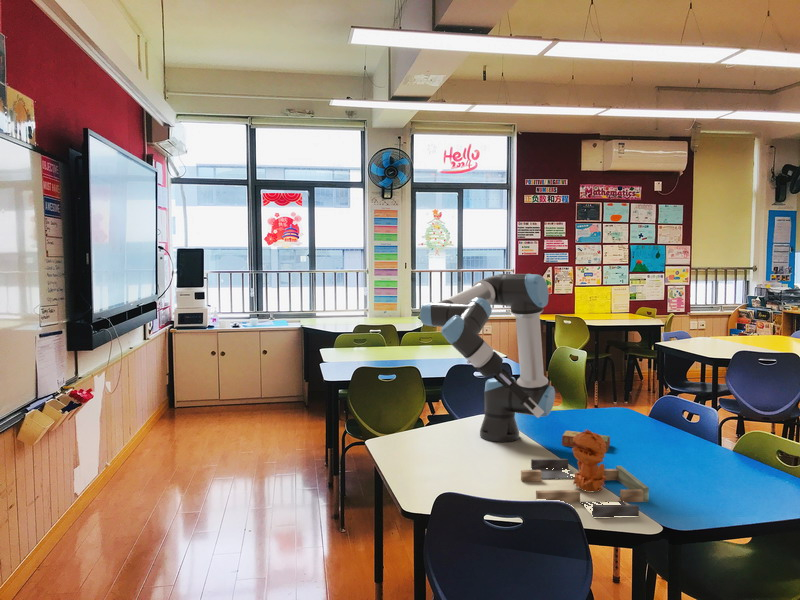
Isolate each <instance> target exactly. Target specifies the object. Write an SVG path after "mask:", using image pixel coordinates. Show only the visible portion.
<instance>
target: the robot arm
mask: <svg viewBox="0 0 800 600" xmlns="http://www.w3.org/2000/svg"><path fill="white" fill-rule="evenodd" d="M549 295H550V292H549V287H548V283H547V280H546V279H545V278H544V277H543V276H542V275H540V274H535V273H533V274H531V273H500V274H495V275H492V276H488V277H486V278H482V279H481V280H478V281H476V282H475V283H473V285H472V287H470V288H468V289H465V290H462V291H460V292H458V293H455V294H454V295H451V296H450V297H446V298H445V299H443V300H440V301H438V302H433V301H431V302H425V303H423V304H422V306H421V307H420V311H419V319H420V322H421V323H422V324H423V325H424V326H427V327H428V326H429V327H432V328H433V327H437V328H438V327H440V328H441V329H440V334H441V335H442V336H443V337H444V338H445V340H446V341H447V343H449V344H450V345H451V346H452V347H453V348H454V349H455V350H456V351H458V352H459V354H461V355H462V356H463V357H464V358H465V359H466V360H467V362H466V363H467V364H469V365H470V364H471V365H472V366H473V367H474V368H476V370H477V371H478V372H479V373H480V374H481V375H482V376H483V377H484V378H488V377H490V376H492V375H494V376H493V377H492V378H489V379H487V380H485V383H484V384H485V386H484V417H483V420H482V424H481V425H480V429H479V436H481V437H480V438H482V439H483V440H486V441H490V442H496V441H497V442H498V443H499V442H500V443H508V442H507V441H510V442H515V441H517V440H519V439H520V431H519V426H518V424H517V420H516V414H521V415H528V416H533V417H536V418H537V419H539V418H540V417H543V418H544V417H547V416H549V414H550V413H552V410H553V407H554V404H555V398H556V389H555V387H554V386H552V385H550V384H549V379H548V378H547V377H546V375H544V372H545V371H544V360H543V342H542V331H541V329H542V328H541V316H540V315H541V314H542V313H543V312H544V307H546V306H547V305H548V303H549ZM492 306H509V308H510V312H511V314H512V315H513V316H514V317H515V325H516V326H515V327H516V340H517V349H518V351H517V352H518V353H517V354H518V364H519V365H518V366H519V374H520V375H519V377H518V378H517V380H516V378H515V377H513V376H511V375H510V374H509V372H508V371H507V370H506V369H505V368H503V367H501V366H502V364H503V361H504V359H503V358H502V357H501V356H500V355H499V354H498V353H497V352H496V351H494V349H493V347H491V345H489V343H487V342H486V341H485V340H484V339H483V337H481V336H480V335H479V334H480V333H481V331H482V330H483V328H484V327H485V325H486V324H487V322H488V321H489V319H490V316H491V315H492V310H493V309H492ZM514 440H515V441H514ZM497 442H496V443H497Z"/></svg>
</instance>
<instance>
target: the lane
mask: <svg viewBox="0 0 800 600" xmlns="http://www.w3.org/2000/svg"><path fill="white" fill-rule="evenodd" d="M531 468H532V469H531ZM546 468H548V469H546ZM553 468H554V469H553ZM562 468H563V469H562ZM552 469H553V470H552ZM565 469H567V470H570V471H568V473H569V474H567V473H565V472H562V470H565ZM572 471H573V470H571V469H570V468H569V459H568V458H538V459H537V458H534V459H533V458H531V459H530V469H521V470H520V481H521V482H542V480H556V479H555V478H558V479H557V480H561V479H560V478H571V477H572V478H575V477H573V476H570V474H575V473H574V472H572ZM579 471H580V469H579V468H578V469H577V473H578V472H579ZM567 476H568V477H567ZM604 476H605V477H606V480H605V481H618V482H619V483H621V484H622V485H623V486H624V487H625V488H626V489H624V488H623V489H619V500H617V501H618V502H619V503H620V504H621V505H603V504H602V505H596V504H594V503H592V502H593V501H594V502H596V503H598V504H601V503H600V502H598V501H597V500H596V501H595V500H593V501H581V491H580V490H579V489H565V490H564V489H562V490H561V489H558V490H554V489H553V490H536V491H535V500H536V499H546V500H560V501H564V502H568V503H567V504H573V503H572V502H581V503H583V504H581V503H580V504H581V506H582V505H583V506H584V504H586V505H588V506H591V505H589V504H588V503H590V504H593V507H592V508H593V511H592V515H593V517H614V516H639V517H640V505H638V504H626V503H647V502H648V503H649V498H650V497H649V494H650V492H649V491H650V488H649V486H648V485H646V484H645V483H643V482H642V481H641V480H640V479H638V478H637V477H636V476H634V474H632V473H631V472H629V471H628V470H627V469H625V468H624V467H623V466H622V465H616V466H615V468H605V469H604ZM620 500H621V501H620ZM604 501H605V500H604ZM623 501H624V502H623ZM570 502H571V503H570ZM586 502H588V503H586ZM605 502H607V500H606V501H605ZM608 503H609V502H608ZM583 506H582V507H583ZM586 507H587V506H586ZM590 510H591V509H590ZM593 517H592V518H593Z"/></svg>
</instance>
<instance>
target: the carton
mask: <svg viewBox="0 0 800 600" xmlns="http://www.w3.org/2000/svg"><path fill="white" fill-rule="evenodd" d="M582 432H583V431H582ZM582 432H580V431H574V430H573V431H572V430H565V431H564V433H562V438H561V446H564V447H570V448H574V447H575V446H576V447H581V448H584V446H581V445H577V444H576V443H575V442H573V438H574V437H575V436H576V435H577V434H579V433H582ZM599 435H600V436H601V437H602V438H603V439H604V441H605V443H606V445H607V446H606V450H607V451H606V453H607V452H608V451H609V449H610V445H611V437H610V435H603V434H599Z"/></svg>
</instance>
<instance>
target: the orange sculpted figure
mask: <svg viewBox="0 0 800 600" xmlns="http://www.w3.org/2000/svg"><path fill="white" fill-rule="evenodd" d="M600 435H601V434H598V433H596V432H592V431H591V430H589V429H588V428H586V429H583V431H582V433H579V434H577V435H576V436H575V437H574V438H573V442H575V443H576V444H577V445H581V446H584V448H581V447H576V446H575V447H571V451H572V453H573V457H574V458H575V459H576V460H577V467H578V469H580V471H579V472H578V471H577V472H575V473H574V474H575V478H574V479H573V480H574V481H573V485H575V487H576V488H578V489H580V488H581V489H583V490H586V491H598V490H599V491H602V490H603V487H605V486H606V484H605V481H607V480H606V477H605V476H604V469H606V466H605V464H604V463H602V462H604V458H605V457H606V456H605V455H606V453H607V452H606V451H607V450H606V446H607V445H606V443H605V441H604V439H603V438H602V437H601V436H600ZM598 464H599V465H598ZM581 489H580V490H581ZM583 490H582V491H583ZM586 491H585V492H586ZM599 491H598V492H599Z"/></svg>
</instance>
